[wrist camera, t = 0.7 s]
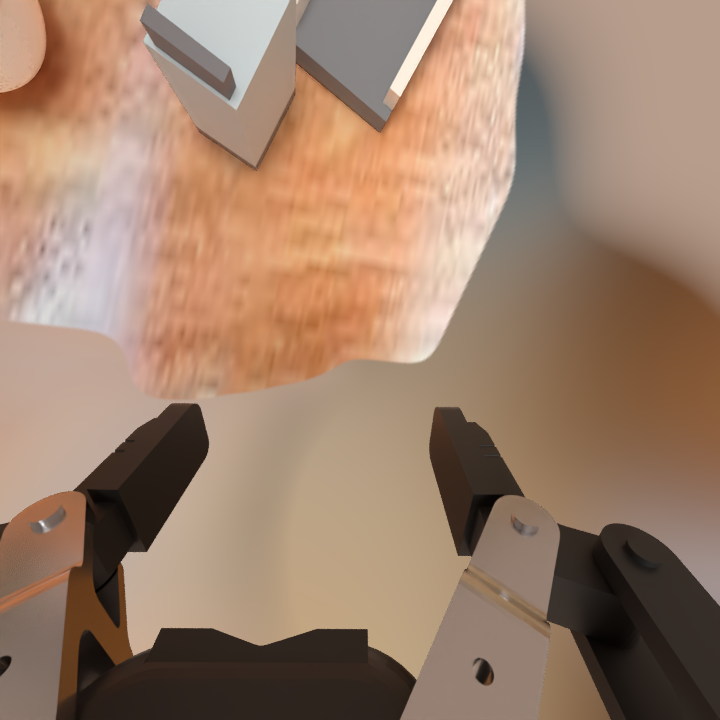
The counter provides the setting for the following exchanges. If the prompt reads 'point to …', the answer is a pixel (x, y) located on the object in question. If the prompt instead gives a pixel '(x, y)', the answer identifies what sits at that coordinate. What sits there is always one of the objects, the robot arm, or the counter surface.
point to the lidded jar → (20, 42)
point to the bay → (413, 55)
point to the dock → (359, 48)
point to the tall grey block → (228, 66)
